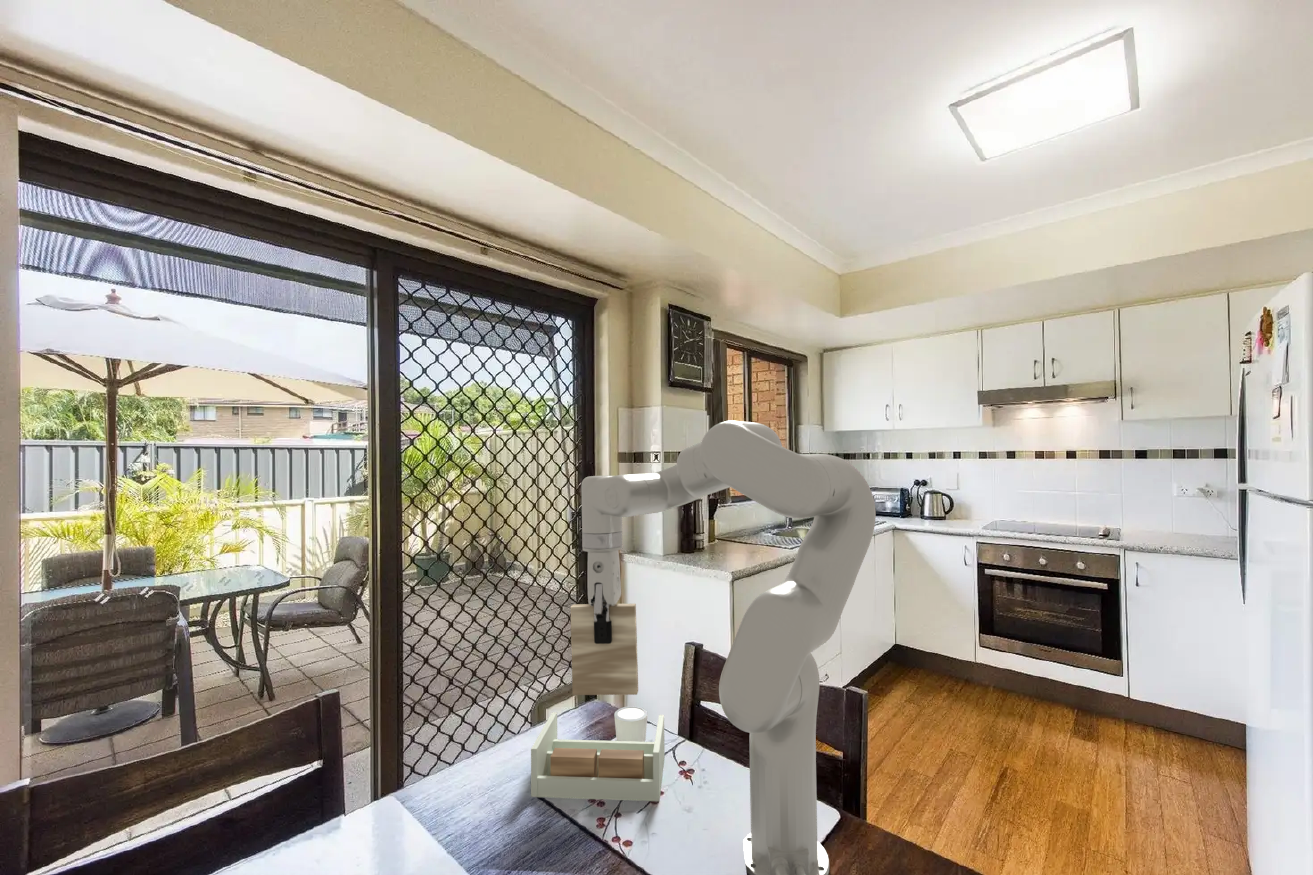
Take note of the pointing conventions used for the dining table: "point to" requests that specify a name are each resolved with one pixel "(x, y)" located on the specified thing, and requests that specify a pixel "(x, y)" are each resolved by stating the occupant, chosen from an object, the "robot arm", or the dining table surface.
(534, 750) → the rack
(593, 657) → the birch sheet
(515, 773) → the dining table surface
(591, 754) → the offcut
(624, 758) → the offcut
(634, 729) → the white cup
